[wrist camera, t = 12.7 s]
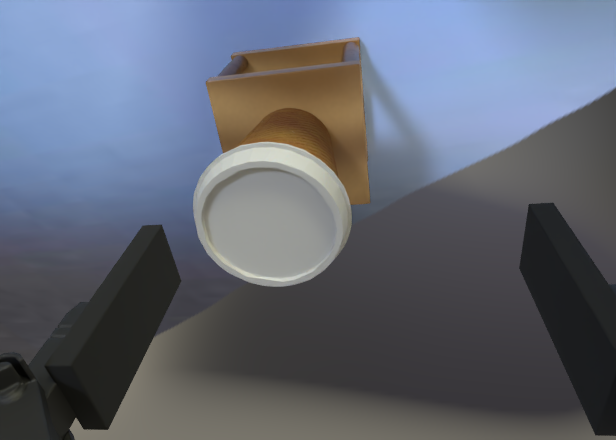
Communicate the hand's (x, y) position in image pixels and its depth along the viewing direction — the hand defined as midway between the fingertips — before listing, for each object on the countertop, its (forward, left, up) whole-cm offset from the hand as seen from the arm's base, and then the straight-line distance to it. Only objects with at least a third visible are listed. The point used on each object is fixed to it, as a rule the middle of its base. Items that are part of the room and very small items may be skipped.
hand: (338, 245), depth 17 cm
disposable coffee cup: (+1, -6, -20) cm, 21 cm away
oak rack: (+1, -6, -30) cm, 30 cm away
